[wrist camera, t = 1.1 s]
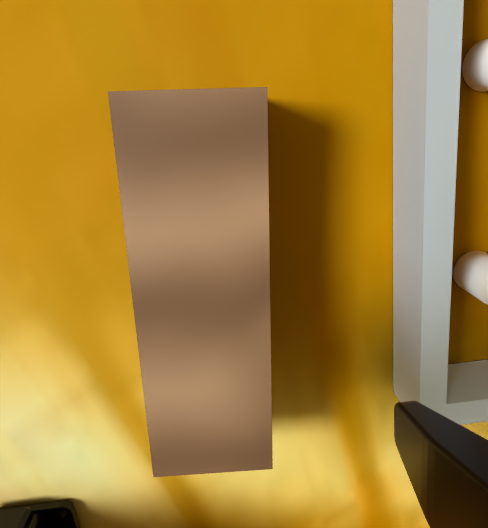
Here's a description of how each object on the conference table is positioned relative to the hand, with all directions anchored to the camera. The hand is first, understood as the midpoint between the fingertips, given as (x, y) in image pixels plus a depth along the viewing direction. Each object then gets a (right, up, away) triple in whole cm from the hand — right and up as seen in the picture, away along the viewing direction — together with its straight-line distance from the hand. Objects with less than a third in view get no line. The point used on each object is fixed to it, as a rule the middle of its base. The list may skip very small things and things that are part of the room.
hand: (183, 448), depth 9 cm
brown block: (0, +4, +11) cm, 12 cm away
